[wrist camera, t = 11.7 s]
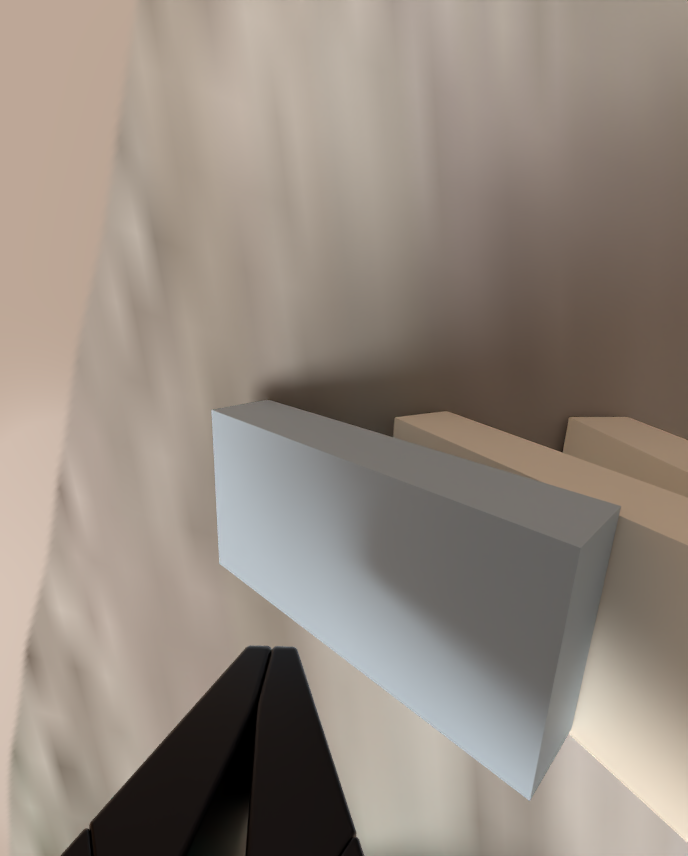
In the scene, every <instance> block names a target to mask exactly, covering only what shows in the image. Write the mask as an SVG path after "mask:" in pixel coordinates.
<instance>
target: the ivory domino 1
mask: <svg viewBox="0 0 688 856" xmlns="http://www.w3.org/2000/svg"><path fill="white" fill-rule="evenodd" d="M393 437H394V438H397V439H401V440H404V441H407V442H410V443H414V444H417V445H420V446H424V447H427V448H430V449H434V450H437V451H440V452H444V453H447V454H450V455H453V456H457V457H460V458H463V459H467V460H470V461H473V462H477V463H480V464H483V465H487V466H490V467H493V468H497V469H500V470H503V471H506V472H510V473H513V474H516V475H520V476H523V477H526V478H530V479H533V480H536V481H540V482H543V483H546V484H550V485H553V486H556V487H559V488H563V489H566V490H569V491H573V492H576V493H579V494H583V495H586V496H589V497H593V498H596V499H599V500H602V501H606V502H609V503H612V504H616V505H619V506H621V509H620V513H619V518H618V522H617V527H616V531H615V536H614V540H613V545H612V549H611V554H610V558H609V563H608V567H607V572H606V576H605V580H604V585H603V589H602V594H601V598H600V603H599V607H598V612H597V616H596V621H595V625H594V630H593V634H592V639H591V643H590V648H589V652H588V657H587V661H586V666H585V670H584V675H583V679H582V684H581V688H580V693H579V697H578V702H577V706H576V711H575V715H574V719H573V724H572V728H571V730H570V732H569V735H571V736H572V737H573V738H574V739H575V740H576V741H577V742H578V743H579V744H580V745H581V746H582V747H584V748H585V749H586V750H587V751H588V752H589V753H590V754H591V755H592V756H593V757H594V758H596V759H597V760H598V761H599V762H600V763H601V764H602V765H603V766H604V767H605V768H606V769H608V770H609V771H610V772H611V773H612V774H613V775H614V776H615V777H616V778H617V779H618V780H620V781H621V782H622V783H623V784H624V785H625V786H626V787H627V788H628V789H629V790H630V791H632V792H633V793H634V794H635V795H636V796H637V797H638V798H639V799H640V800H641V801H642V802H644V803H645V804H646V805H647V806H648V807H649V808H650V809H651V810H652V811H653V812H654V813H656V814H657V815H658V816H659V817H660V818H661V819H662V820H663V821H664V822H665V823H666V824H668V825H669V826H670V827H671V828H672V829H673V830H674V831H675V832H676V833H677V834H678V835H680V836H681V837H682V838H683V839H684V840H685V841H686V842H687V843H688V498H687V497H685V496H682V495H679V494H676V493H674V492H671V491H668V490H665V489H662V488H660V487H657V486H654V485H651V484H648V483H646V482H643V481H640V480H637V479H635V478H632V477H629V476H626V475H623V474H621V473H618V472H615V471H612V470H610V469H607V468H604V467H601V466H598V465H596V464H593V463H590V462H587V461H584V460H582V459H579V458H576V457H573V456H571V455H568V454H565V453H562V452H559V451H557V450H554V449H551V448H548V447H546V446H543V445H540V444H537V443H534V442H532V441H529V440H526V439H523V438H521V437H518V436H515V435H512V434H509V433H507V432H504V431H501V430H498V429H495V428H493V427H490V426H487V425H484V424H482V423H479V422H476V421H473V420H470V419H468V418H465V417H462V416H459V415H457V414H454V413H451V412H448V411H442V412H434V413H426V414H418V415H410V416H402V417H395V419H394V434H393Z"/></svg>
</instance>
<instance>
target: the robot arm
mask: <svg viewBox="0 0 688 856" xmlns="http://www.w3.org/2000/svg"><path fill="white" fill-rule="evenodd" d="M89 828H90V830H89V829H87V828H86V829H84V830H83V831H82V832H81V833H80V834H79V835H78V837H77V838H76V839H75V840H74V841H73V842H72V843H71V844H70V846H69V847H68V848H67V849H66V850H65V851H64V852H63V853H62V855H61V856H364V854H363V851H362V848H361V844H360V841H359V839H358V838H357V837H356V830H355V827H354V824H353V821H352V818H351V815H350V811H349V808H348V805H347V802H346V799H345V796H344V793H343V790H342V787H341V784H340V781H339V777H338V774H337V771H336V768H335V765H334V762H333V759H332V756H331V753H330V750H329V747H328V743H327V740H326V737H325V734H324V731H323V728H322V725H321V722H320V719H319V716H318V713H317V709H316V706H315V703H314V700H313V697H312V694H311V691H310V688H309V685H308V682H307V679H306V675H305V672H304V669H303V666H302V663H301V660H300V657H299V654H298V651H297V649H296V648H295V647H280V646H276V647H274V648H273V649H271V648H270V647H269V646H248V647H247V648H245V649H244V651H243V652H242V653H241V654H240V655H239V656H238V657H237V658H236V660H235V661H234V662H233V663H232V664H231V665H230V666H229V667H228V669H227V670H226V671H225V672H224V673H223V674H222V675H221V676H220V678H219V679H218V680H217V681H216V682H215V683H214V684H213V685H212V687H211V688H210V689H209V690H208V691H207V692H206V693H205V694H204V695H203V697H202V698H201V699H200V700H199V701H198V702H197V703H196V704H195V706H194V707H193V708H192V709H191V710H190V711H189V712H188V713H187V715H186V716H185V717H184V718H183V719H182V720H181V721H180V722H179V724H178V725H177V726H176V727H175V728H174V729H173V730H172V731H171V733H170V734H169V735H168V736H167V737H166V738H165V739H164V740H163V742H162V743H161V744H160V745H159V746H158V747H157V748H156V749H155V751H154V752H153V753H152V754H151V755H150V756H149V757H148V758H147V760H146V761H145V762H144V763H143V764H142V765H141V766H140V767H139V768H138V770H137V771H136V772H135V773H134V774H133V775H132V776H131V777H130V779H129V780H128V781H127V782H126V783H125V784H124V785H123V786H122V788H121V789H120V790H119V791H118V792H117V793H116V794H115V795H114V797H113V798H112V799H111V800H110V801H109V802H108V803H107V804H106V806H105V807H104V808H103V809H102V810H101V811H100V812H99V813H98V815H97V816H96V817H95V818H94V819H93V820H92V821H91V822H90V825H89Z"/></svg>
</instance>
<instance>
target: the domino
mask: <svg viewBox="0 0 688 856" xmlns="http://www.w3.org/2000/svg"><path fill="white" fill-rule="evenodd" d="M212 428H213V448H214V467H215V487H216V506H217V526H218V545H219V564H221V565H222V566H223V567H225V568H226V569H227V570H229V571H230V572H231V573H232V574H234V575H235V576H236V577H238V578H239V579H240V580H242V581H243V582H244V583H246V584H247V585H248V586H249V587H251V588H252V589H253V590H255V591H256V592H257V593H259V594H260V595H261V596H263V597H264V598H265V599H266V600H268V601H269V602H270V603H272V604H273V605H274V606H276V607H277V608H278V609H280V610H281V611H282V612H283V613H285V614H286V615H287V616H289V617H290V618H291V619H293V620H294V621H295V622H297V623H298V624H299V625H300V626H302V627H303V628H304V629H306V630H307V631H308V632H310V633H311V634H312V635H314V636H315V637H316V638H317V639H319V640H320V641H321V642H323V643H324V644H325V645H327V646H328V647H329V648H331V649H332V650H333V651H334V652H336V653H337V654H338V655H340V656H341V657H342V658H344V659H345V660H346V661H347V662H349V663H350V664H351V665H353V666H354V667H355V668H357V669H358V670H359V671H361V672H362V673H363V674H364V675H366V676H367V677H368V678H370V679H371V680H372V681H374V682H375V683H376V684H378V685H379V686H380V687H381V688H383V689H384V690H385V691H387V692H388V693H389V694H391V695H392V696H393V697H395V698H396V699H397V700H398V701H400V702H401V703H402V704H404V705H405V706H406V707H408V708H409V709H410V710H412V711H413V712H414V713H415V714H417V715H418V716H419V717H421V718H422V719H423V720H425V721H426V722H427V723H429V724H430V725H431V726H432V727H434V728H435V729H436V730H438V731H439V732H440V733H442V734H443V735H444V736H446V737H447V738H448V739H449V740H451V741H452V742H453V743H455V744H456V745H457V746H459V747H460V748H461V749H463V750H464V751H465V752H466V753H468V754H469V755H470V756H472V757H473V758H474V759H476V760H477V761H478V762H480V763H481V764H482V765H483V766H485V767H486V768H487V769H489V770H490V771H491V772H493V773H494V774H495V775H497V776H498V777H499V778H500V779H502V780H503V781H504V782H506V783H507V784H508V785H510V786H511V787H512V788H513V789H515V790H516V791H517V792H519V793H520V794H521V795H523V796H524V797H525V798H527V799H528V800H529V801H530V800H531V798H532V796H533V795H534V793H535V791H536V789H537V788H538V786H539V784H540V783H541V781H542V779H543V777H544V776H545V774H546V772H547V770H548V769H549V767H550V765H551V763H552V762H553V760H554V758H555V756H556V755H557V753H558V751H559V750H560V748H561V746H562V744H563V743H564V741H565V739H566V737H567V736H568V734H569V732H570V730H571V728H572V724H573V719H574V715H575V711H576V706H577V702H578V697H579V693H580V688H581V684H582V679H583V675H584V670H585V666H586V661H587V657H588V652H589V648H590V643H591V639H592V634H593V630H594V625H595V621H596V616H597V612H598V607H599V603H600V598H601V594H602V589H603V585H604V580H605V576H606V572H607V567H608V563H609V558H610V554H611V549H612V545H613V540H614V536H615V531H616V527H617V522H618V518H619V513H620V509H621V506H619V505H616V504H612V503H609V502H606V501H602V500H599V499H596V498H593V497H589V496H586V495H583V494H579V493H576V492H573V491H569V490H566V489H563V488H559V487H556V486H553V485H550V484H546V483H543V482H540V481H536V480H533V479H530V478H526V477H523V476H520V475H516V474H513V473H510V472H506V471H503V470H500V469H497V468H493V467H490V466H487V465H483V464H480V463H477V462H473V461H470V460H467V459H463V458H460V457H457V456H453V455H450V454H447V453H444V452H440V451H437V450H434V449H430V448H427V447H424V446H420V445H417V444H414V443H410V442H407V441H404V440H401V439H397V438H394V437H391V436H387V435H384V434H381V433H377V432H374V431H371V430H367V429H364V428H361V427H357V426H354V425H351V424H348V423H344V422H341V421H338V420H334V419H331V418H328V417H324V416H321V415H318V414H314V413H311V412H308V411H304V410H301V409H298V408H295V407H291V406H288V405H285V404H281V403H278V402H275V401H271V400H264V401H258V402H252V403H247V404H241V405H236V406H230V407H224V408H219V409H213V410H212Z"/></svg>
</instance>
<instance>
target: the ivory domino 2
mask: <svg viewBox="0 0 688 856" xmlns="http://www.w3.org/2000/svg"><path fill="white" fill-rule="evenodd" d="M563 453H565V454H568V455H571V456H573V457H576V458H579V459H582V460H584V461H587V462H590V463H593V464H596V465H598V466H601V467H604V468H607V469H610V470H612V471H615V472H618V473H621V474H623V475H626V476H629V477H632V478H635V479H637V480H640V481H643V482H646V483H648V484H651V485H654V486H657V487H660V488H662V489H665V490H668V491H671V492H674V493H676V494H679V495H682V496H685V497H687V498H688V440H686V439H684V438H681V437H679V436H676V435H673V434H671V433H668V432H666V431H663V430H660V429H658V428H655V427H653V426H650V425H648V424H645V423H642V422H640V421H637V420H635V419H632V418H629V417H569V420H568V426H567V431H566V437H565V443H564V448H563Z"/></svg>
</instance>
